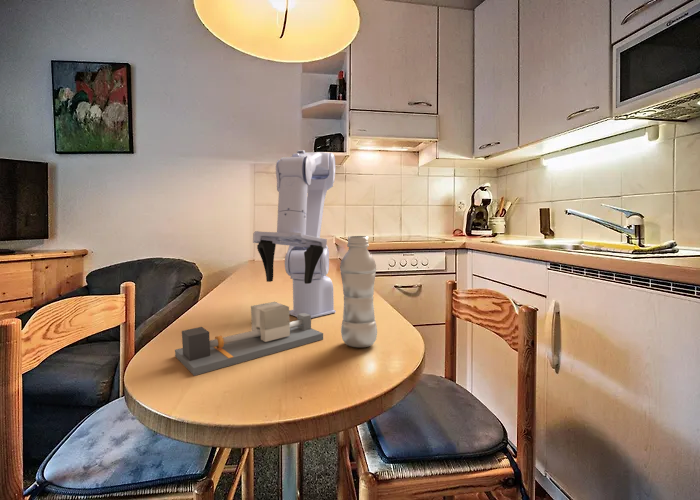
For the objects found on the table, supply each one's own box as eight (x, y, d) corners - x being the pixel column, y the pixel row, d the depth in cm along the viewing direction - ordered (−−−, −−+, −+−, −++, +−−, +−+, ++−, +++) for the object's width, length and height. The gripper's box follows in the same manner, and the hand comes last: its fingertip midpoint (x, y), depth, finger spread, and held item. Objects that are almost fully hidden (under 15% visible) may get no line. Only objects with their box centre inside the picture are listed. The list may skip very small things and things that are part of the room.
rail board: (295, 327, 78) (295, 303, 77) (323, 339, 70) (322, 312, 69) (175, 356, 62) (173, 326, 62) (194, 375, 55) (192, 342, 54)
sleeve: (275, 328, 72) (274, 301, 71) (289, 335, 68) (289, 306, 67) (252, 334, 69) (250, 306, 68) (265, 341, 65) (264, 311, 64)
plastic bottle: (366, 354, 62) (365, 238, 60) (333, 347, 66) (332, 237, 64) (383, 343, 68) (383, 235, 66) (352, 337, 71) (351, 235, 69)
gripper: (260, 204, 66) (255, 278, 64) (333, 214, 72) (331, 282, 70) (252, 213, 72) (248, 281, 70) (320, 222, 79) (318, 285, 76)
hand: (289, 282), depth 70 cm, fingers open, 7 cm apart
